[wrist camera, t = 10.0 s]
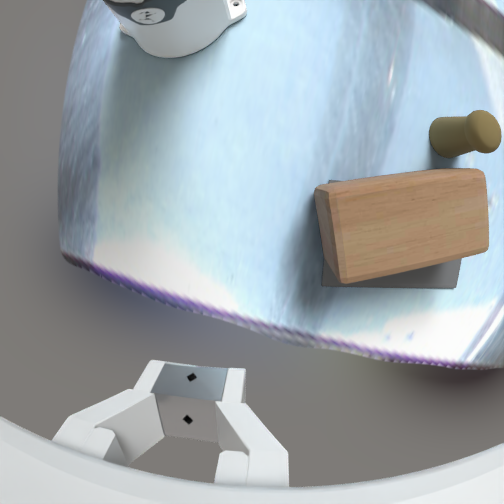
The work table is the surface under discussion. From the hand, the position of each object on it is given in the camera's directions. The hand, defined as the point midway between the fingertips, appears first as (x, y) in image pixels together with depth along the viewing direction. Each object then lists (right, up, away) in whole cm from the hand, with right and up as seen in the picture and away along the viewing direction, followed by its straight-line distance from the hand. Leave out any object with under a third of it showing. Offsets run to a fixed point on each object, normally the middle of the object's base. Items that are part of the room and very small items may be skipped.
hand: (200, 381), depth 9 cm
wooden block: (+9, +6, +25) cm, 27 cm away
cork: (+29, +20, +26) cm, 44 cm away
